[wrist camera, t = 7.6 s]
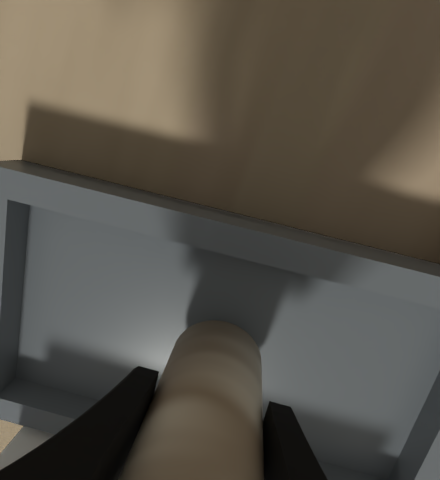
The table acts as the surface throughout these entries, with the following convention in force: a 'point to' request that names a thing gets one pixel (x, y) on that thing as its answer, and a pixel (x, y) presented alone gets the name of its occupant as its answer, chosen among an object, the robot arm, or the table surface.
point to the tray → (215, 315)
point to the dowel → (204, 411)
